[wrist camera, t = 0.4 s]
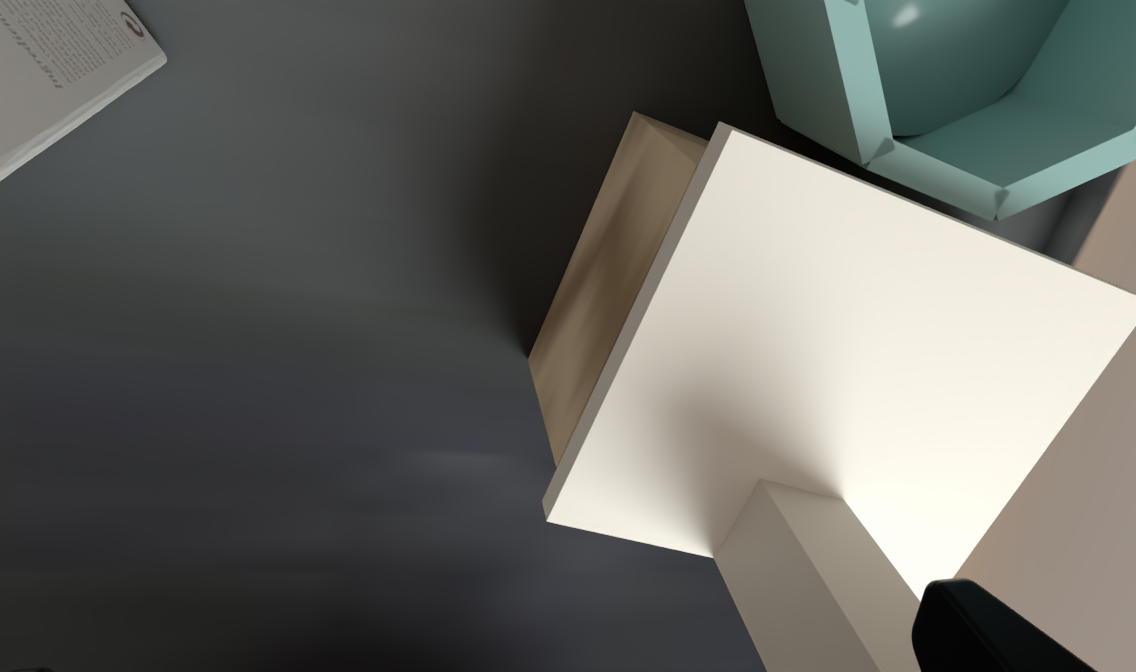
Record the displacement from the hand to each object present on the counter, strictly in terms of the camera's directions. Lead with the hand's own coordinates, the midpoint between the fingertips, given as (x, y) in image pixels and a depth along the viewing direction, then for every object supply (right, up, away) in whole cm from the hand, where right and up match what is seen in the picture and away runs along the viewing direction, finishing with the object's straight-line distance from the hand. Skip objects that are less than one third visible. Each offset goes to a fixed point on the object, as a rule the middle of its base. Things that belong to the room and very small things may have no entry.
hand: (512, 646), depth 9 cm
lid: (+7, +2, +12) cm, 14 cm away
